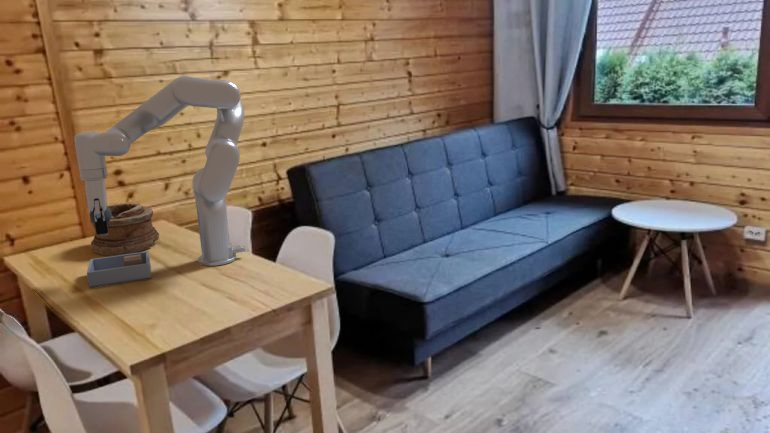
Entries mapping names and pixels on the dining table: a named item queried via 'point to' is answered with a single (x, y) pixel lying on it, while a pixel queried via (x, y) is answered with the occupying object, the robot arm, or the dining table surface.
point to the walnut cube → (132, 260)
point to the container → (126, 231)
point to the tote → (117, 270)
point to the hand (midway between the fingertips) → (103, 230)
